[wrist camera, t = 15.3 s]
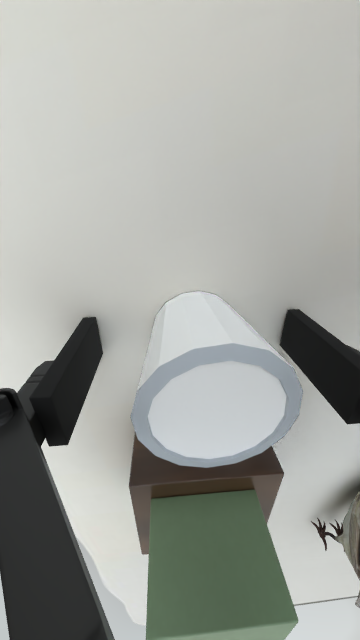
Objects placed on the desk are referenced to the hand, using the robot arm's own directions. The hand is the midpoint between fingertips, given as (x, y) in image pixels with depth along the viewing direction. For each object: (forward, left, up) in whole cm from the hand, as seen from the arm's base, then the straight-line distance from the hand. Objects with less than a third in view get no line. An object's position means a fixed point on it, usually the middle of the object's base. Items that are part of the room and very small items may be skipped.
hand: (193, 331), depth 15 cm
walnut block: (+11, +7, 0) cm, 13 cm away
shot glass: (0, 0, 0) cm, 0 cm away
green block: (+11, +7, +5) cm, 14 cm away
